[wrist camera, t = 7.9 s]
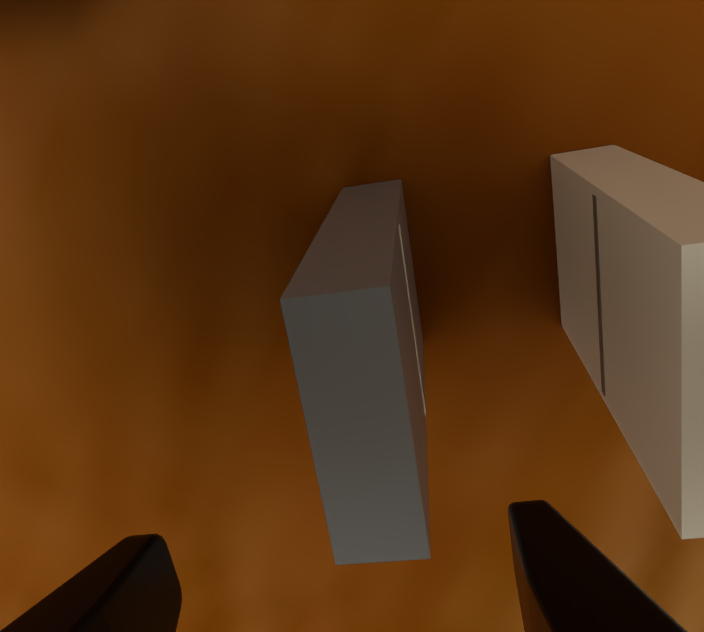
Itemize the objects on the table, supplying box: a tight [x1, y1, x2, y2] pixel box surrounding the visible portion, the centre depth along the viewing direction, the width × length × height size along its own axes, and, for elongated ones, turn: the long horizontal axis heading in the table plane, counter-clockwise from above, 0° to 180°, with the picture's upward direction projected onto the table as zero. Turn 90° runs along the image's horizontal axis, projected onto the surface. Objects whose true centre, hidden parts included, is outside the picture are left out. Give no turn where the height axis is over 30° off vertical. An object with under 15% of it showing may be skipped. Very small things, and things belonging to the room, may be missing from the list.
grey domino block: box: [280, 179, 431, 565], centre depth 14 cm, size 2×5×9 cm, turn 9°
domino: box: [550, 145, 704, 539], centre depth 14 cm, size 2×5×9 cm, turn 10°
